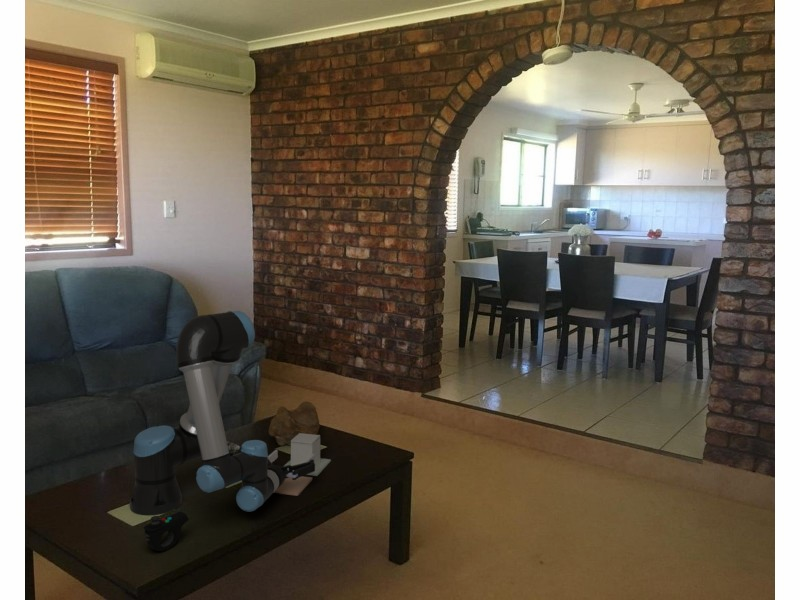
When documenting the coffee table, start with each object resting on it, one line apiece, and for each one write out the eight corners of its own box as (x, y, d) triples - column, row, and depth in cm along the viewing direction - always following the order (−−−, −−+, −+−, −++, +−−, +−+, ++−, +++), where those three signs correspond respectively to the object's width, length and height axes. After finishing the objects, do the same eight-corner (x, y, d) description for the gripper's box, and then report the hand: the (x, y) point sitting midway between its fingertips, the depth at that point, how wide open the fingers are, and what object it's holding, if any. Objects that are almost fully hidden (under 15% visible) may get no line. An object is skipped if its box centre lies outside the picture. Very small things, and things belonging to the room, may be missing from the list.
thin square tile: (297, 495, 209) (297, 493, 209) (260, 491, 212) (260, 488, 212) (312, 479, 222) (312, 477, 222) (276, 475, 225) (276, 473, 225)
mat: (317, 475, 225) (317, 474, 225) (279, 471, 228) (279, 469, 228) (330, 461, 239) (330, 459, 238) (295, 456, 242) (295, 455, 242)
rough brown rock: (294, 458, 242) (297, 420, 240) (261, 445, 251) (265, 408, 249) (333, 443, 262) (337, 407, 259) (302, 431, 270) (305, 396, 268)
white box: (312, 470, 229) (312, 442, 227) (290, 467, 230) (290, 440, 229) (320, 461, 236) (320, 435, 235) (299, 459, 238) (299, 433, 237)
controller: (142, 554, 172) (140, 519, 171) (181, 536, 182) (180, 502, 181) (152, 559, 170) (150, 523, 168) (191, 540, 180) (190, 506, 179)
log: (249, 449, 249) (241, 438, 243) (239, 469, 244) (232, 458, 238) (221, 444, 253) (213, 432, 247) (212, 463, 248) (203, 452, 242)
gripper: (232, 487, 206) (261, 462, 226) (306, 496, 200) (329, 470, 221) (232, 464, 205) (261, 441, 225) (306, 473, 199) (329, 449, 220)
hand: (295, 455), depth 223 cm, fingers open, 13 cm apart
